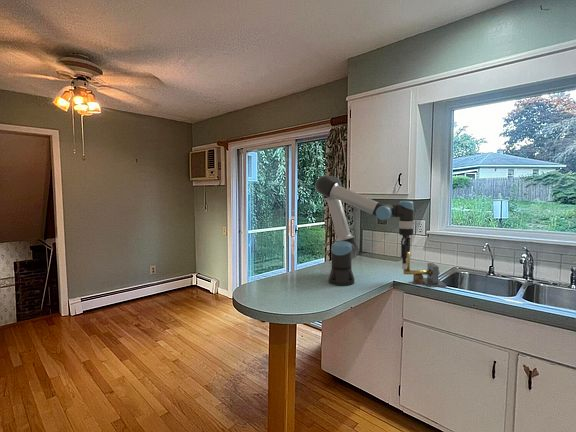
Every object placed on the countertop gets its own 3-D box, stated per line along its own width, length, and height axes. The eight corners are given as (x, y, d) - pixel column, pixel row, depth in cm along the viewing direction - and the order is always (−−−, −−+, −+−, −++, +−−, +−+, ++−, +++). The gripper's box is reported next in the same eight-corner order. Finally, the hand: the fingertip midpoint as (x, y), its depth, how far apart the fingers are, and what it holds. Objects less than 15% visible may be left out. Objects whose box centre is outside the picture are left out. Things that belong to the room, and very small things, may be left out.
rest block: (415, 283, 181) (416, 275, 180) (413, 281, 186) (413, 273, 185) (423, 283, 180) (423, 276, 180) (420, 281, 185) (420, 273, 185)
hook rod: (404, 275, 182) (404, 252, 181) (402, 273, 185) (403, 251, 184) (439, 275, 180) (440, 252, 179) (437, 273, 183) (438, 251, 182)
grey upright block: (427, 286, 176) (428, 267, 175) (419, 279, 190) (420, 261, 189) (446, 286, 175) (446, 268, 174) (436, 279, 189) (437, 262, 188)
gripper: (409, 230, 172) (408, 272, 174) (416, 226, 186) (415, 265, 188) (395, 229, 176) (395, 270, 178) (402, 225, 190) (402, 264, 192)
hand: (405, 267), depth 183 cm, fingers closed on hook rod, 3 cm apart
